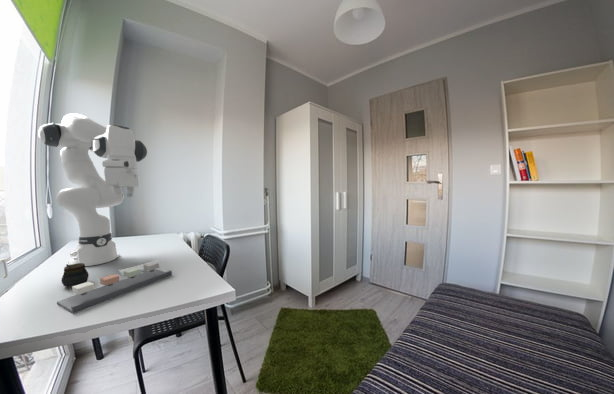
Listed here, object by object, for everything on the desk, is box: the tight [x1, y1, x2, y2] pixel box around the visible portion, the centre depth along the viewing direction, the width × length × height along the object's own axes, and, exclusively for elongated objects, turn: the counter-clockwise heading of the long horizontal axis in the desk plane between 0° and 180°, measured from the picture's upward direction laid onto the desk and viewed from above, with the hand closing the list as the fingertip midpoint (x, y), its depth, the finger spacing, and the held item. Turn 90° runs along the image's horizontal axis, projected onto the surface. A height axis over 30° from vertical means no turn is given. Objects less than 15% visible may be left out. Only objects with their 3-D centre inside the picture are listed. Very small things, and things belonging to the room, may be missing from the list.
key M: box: [144, 261, 160, 272], centre depth 90 cm, size 4×4×3 cm
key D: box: [123, 267, 142, 278], centre depth 83 cm, size 4×4×3 cm
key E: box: [99, 273, 120, 286], centre depth 77 cm, size 4×4×3 cm
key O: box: [71, 281, 95, 295], centre depth 71 cm, size 4×4×3 cm
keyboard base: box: [56, 269, 173, 315], centre depth 80 cm, size 13×30×2 cm, turn 155°
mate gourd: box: [61, 263, 90, 288], centre depth 83 cm, size 7×8×10 cm
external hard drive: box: [118, 261, 152, 277], centre depth 98 cm, size 2×8×12 cm
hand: (125, 197), depth 87 cm, fingers open, 8 cm apart
